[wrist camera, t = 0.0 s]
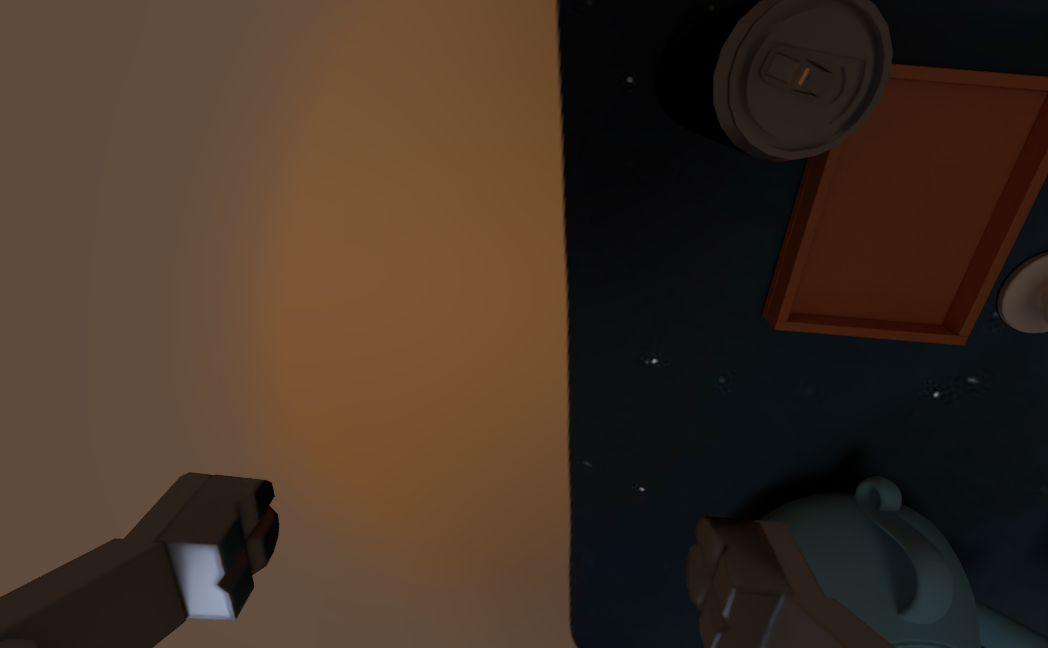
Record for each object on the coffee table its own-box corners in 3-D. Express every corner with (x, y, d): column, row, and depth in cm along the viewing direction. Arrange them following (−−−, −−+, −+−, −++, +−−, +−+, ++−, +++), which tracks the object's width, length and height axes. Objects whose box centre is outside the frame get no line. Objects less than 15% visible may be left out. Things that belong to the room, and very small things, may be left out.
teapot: (742, 439, 37) (830, 602, 26) (1033, 454, 37) (1252, 625, 25) (694, 626, 46) (743, 810, 34) (930, 639, 45) (1059, 830, 34)
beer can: (635, 109, 28) (691, 134, 18) (680, -3, 26) (777, -54, 15) (727, 144, 29) (836, 188, 18) (779, 38, 27) (938, 16, 16)
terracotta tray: (835, 61, 27) (857, 60, 25) (1055, 79, 27) (1094, 80, 25) (761, 315, 33) (774, 329, 31) (940, 330, 33) (964, 346, 31)
